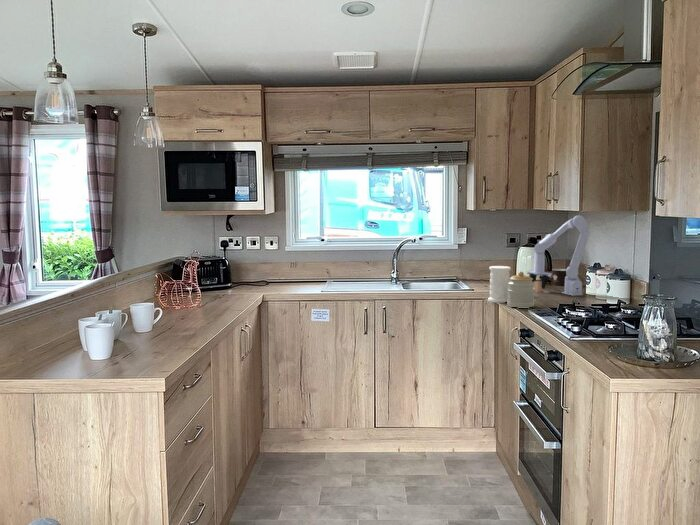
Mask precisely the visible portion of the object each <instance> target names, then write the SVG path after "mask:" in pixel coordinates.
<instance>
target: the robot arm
mask: <svg viewBox="0 0 700 525" xmlns="http://www.w3.org/2000/svg"><path fill="white" fill-rule="evenodd" d="M574 227H575V228H576V229H577V230H578V231H579V233H580V235H579V238H578V239H577V243H576V246H575V250H574V252H573V255H572V258H571V261H570V263H569V265H568V266H567V268H565V269H566V275H567V276H566V277H565V286H564V291H561V293H562V294H565V295H568V296H570V295H571V296H572V297H573V296H584V294H583V282H582V280H580V277H579V267H580V264H581V261H582V257H583V256H584V252H585V249H586V246H587V243H588V240H589V237H590V235H591V231H590V228H589V225H588V221H587V219H585V217H583V216H582V215H574V217H573V218H570V219H569V220H567V221H566V222H564V223H563V224H562V225H561V226H560V227H558V229H557V230H555V232H552V233H548V234H545V236H544V238H542V239H541V240H539V241H538V243H536V244H535V245H534V247H533V248H534V254H533V255H534V257H533V259H534V260H533V270H527V271H526V275H528V276H530V277H531V278H533V280H532V282H533V283H534V281H535V280H537V277H538V276H540V279H541V280H540V281H542V289H544V290H545V289H546V285H547V284H548V283H547V282H548V281H549V279H550V278H552V277H551V276H553V272H551V273H550V272H547V271H545V265H546V263H545V261H546V256H545V251H546V249H549V248H550V247H551V246H553V245H554V244H555V243H556V242H557V238H558V237H559V236H561V235H563V233H565V232H566V231H567V230H568V229H569V230H570V229H573V228H574Z"/></svg>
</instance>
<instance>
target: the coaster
mask: <svg viewBox="0 0 700 525" xmlns="http://www.w3.org/2000/svg"><path fill="white" fill-rule="evenodd" d="M551 293H552V292H551V291H547V290H544V292H534V295H535V294H536V295H537V294H551Z"/></svg>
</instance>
